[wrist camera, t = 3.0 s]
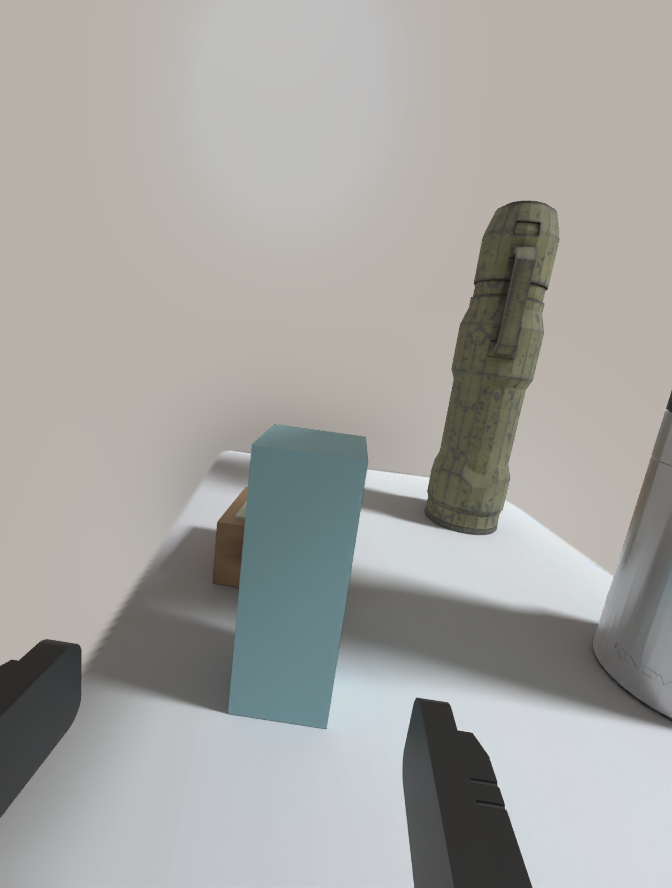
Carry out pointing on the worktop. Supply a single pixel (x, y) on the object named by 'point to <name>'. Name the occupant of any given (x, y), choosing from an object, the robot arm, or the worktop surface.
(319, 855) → the worktop surface
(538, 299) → the thermos
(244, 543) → the teal block
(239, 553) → the walnut base
